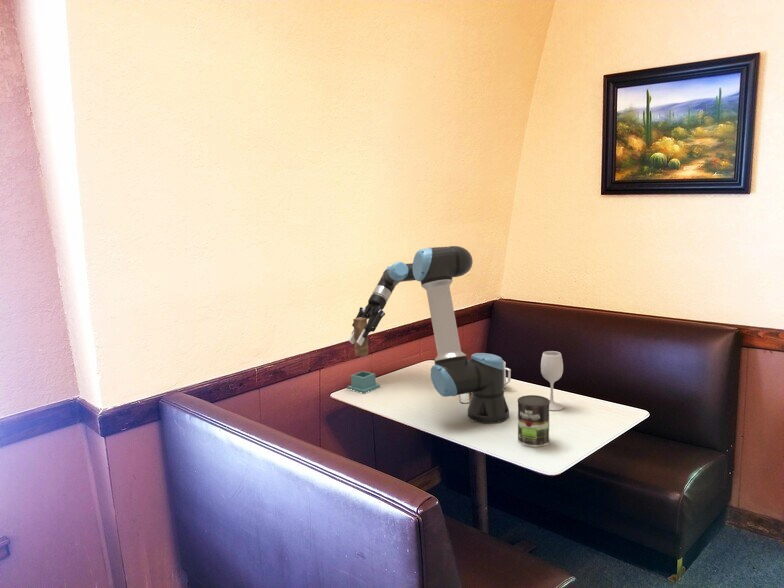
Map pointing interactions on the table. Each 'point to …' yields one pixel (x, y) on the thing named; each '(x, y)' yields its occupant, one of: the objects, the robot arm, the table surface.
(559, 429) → the table surface
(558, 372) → the wineglass
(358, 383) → the teal square socket
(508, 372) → the mug
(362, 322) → the post
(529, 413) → the coffee can
